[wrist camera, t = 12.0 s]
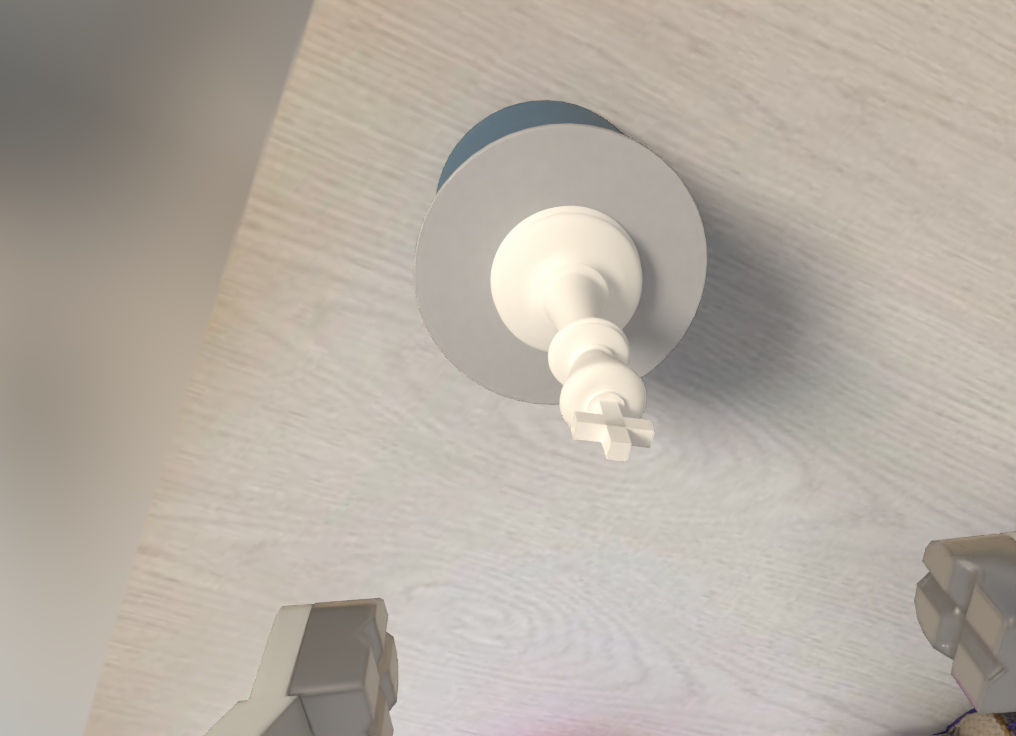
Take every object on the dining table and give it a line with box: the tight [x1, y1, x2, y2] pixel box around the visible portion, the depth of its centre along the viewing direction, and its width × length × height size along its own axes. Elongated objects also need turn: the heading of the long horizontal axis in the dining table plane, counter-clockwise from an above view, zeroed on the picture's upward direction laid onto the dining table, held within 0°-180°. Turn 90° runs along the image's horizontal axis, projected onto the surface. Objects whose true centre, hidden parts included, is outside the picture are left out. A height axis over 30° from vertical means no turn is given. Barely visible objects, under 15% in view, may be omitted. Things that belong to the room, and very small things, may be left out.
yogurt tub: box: [414, 100, 708, 405], centre depth 27 cm, size 10×10×8 cm
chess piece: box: [490, 206, 655, 461], centre depth 19 cm, size 5×5×10 cm
